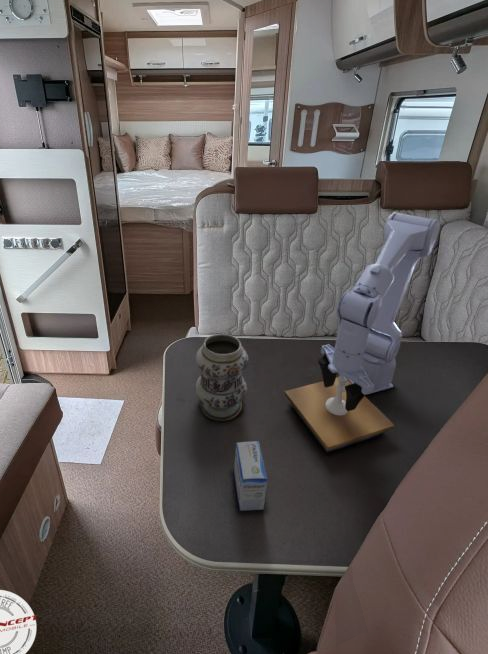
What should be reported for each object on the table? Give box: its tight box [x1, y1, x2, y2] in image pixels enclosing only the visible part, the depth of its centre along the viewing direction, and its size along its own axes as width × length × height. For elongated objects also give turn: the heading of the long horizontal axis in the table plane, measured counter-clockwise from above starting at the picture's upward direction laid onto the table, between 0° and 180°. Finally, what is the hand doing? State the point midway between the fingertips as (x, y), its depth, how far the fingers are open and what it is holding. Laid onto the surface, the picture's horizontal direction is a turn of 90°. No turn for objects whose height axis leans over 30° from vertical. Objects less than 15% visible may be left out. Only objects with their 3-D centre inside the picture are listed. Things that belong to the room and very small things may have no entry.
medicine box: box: [233, 440, 268, 512], centre depth 66 cm, size 8×4×9 cm, turn 5°
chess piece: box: [325, 373, 348, 415], centre depth 80 cm, size 5×5×10 cm
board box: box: [283, 376, 396, 454], centre depth 83 cm, size 17×17×4 cm
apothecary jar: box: [195, 333, 249, 422], centre depth 84 cm, size 12×12×18 cm
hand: (338, 397), depth 81 cm, fingers open, 7 cm apart
